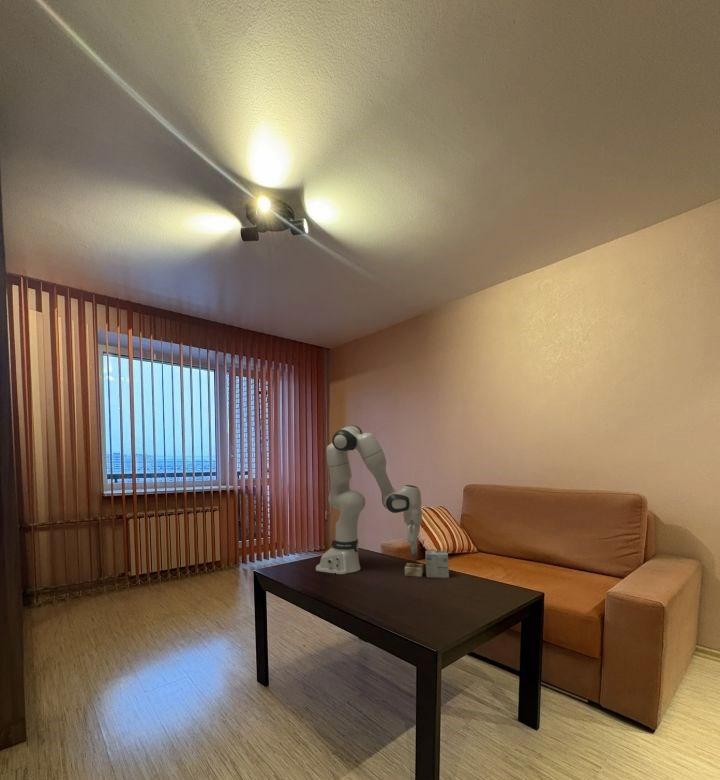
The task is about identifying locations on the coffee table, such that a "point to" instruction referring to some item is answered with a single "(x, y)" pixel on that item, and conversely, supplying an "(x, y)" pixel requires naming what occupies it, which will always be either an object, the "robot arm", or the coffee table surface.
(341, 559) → the robot arm
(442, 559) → the light bulb box
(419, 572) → the hole block
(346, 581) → the coffee table surface
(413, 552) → the peg
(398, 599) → the coffee table surface
